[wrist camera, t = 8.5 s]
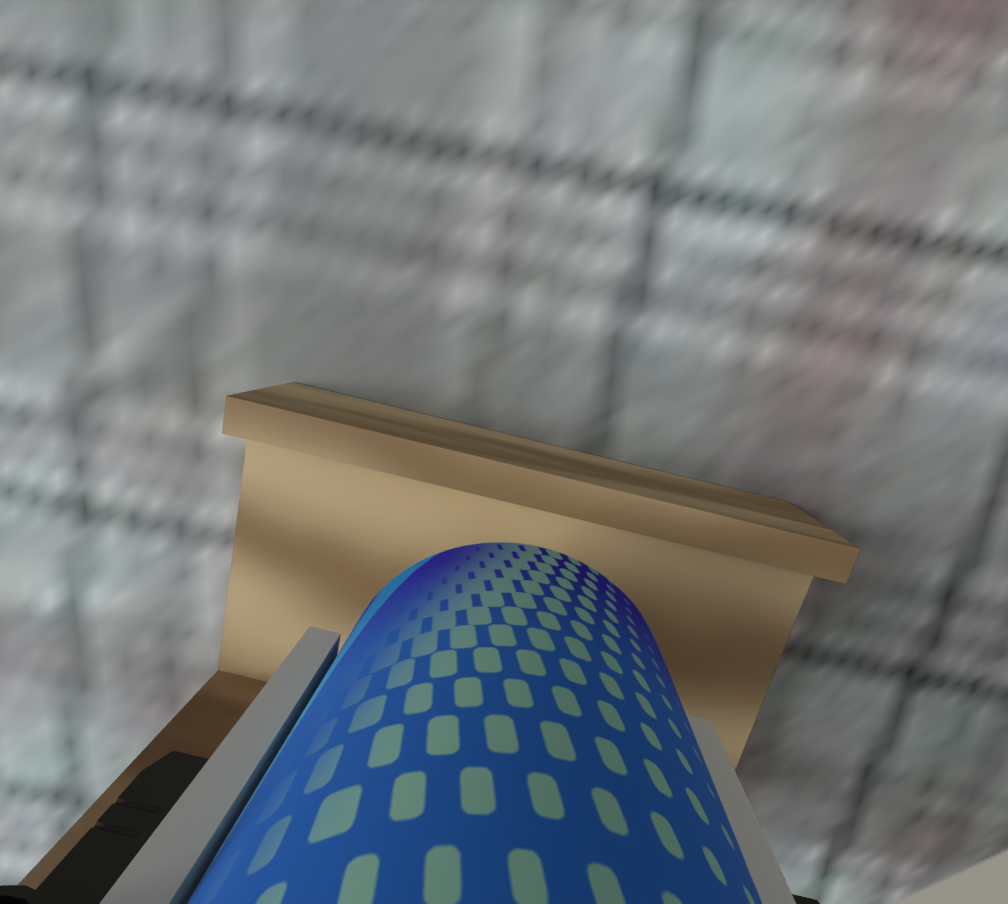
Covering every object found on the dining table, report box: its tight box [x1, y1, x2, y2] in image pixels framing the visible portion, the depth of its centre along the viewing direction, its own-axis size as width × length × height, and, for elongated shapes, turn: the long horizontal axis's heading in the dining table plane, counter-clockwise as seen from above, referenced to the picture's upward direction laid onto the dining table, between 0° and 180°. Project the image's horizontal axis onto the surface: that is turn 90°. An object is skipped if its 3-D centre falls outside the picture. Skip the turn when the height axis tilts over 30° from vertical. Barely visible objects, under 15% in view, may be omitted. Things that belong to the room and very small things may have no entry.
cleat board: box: [18, 382, 861, 890], centre depth 16 cm, size 13×20×12 cm, turn 77°
